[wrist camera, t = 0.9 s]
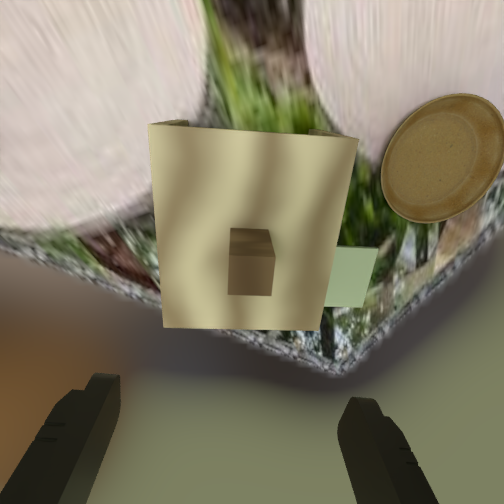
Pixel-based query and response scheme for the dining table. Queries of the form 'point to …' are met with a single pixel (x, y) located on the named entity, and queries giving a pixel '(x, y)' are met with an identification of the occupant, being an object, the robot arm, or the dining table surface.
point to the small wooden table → (246, 224)
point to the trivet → (350, 276)
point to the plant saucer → (443, 158)
